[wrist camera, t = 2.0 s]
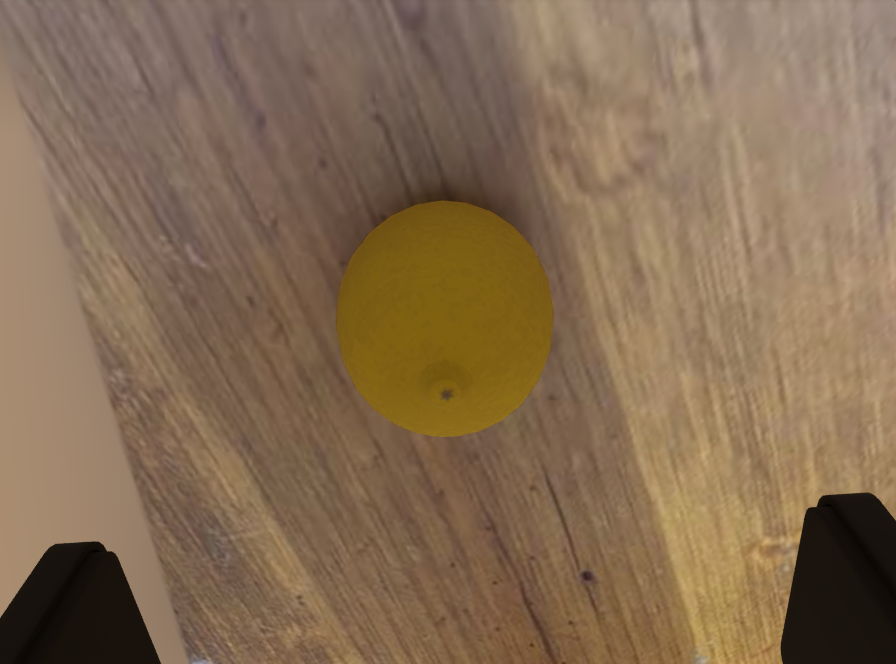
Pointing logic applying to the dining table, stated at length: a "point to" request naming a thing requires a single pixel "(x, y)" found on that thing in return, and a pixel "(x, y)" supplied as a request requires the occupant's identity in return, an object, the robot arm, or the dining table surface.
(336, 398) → the dining table surface
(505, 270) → the lemon
